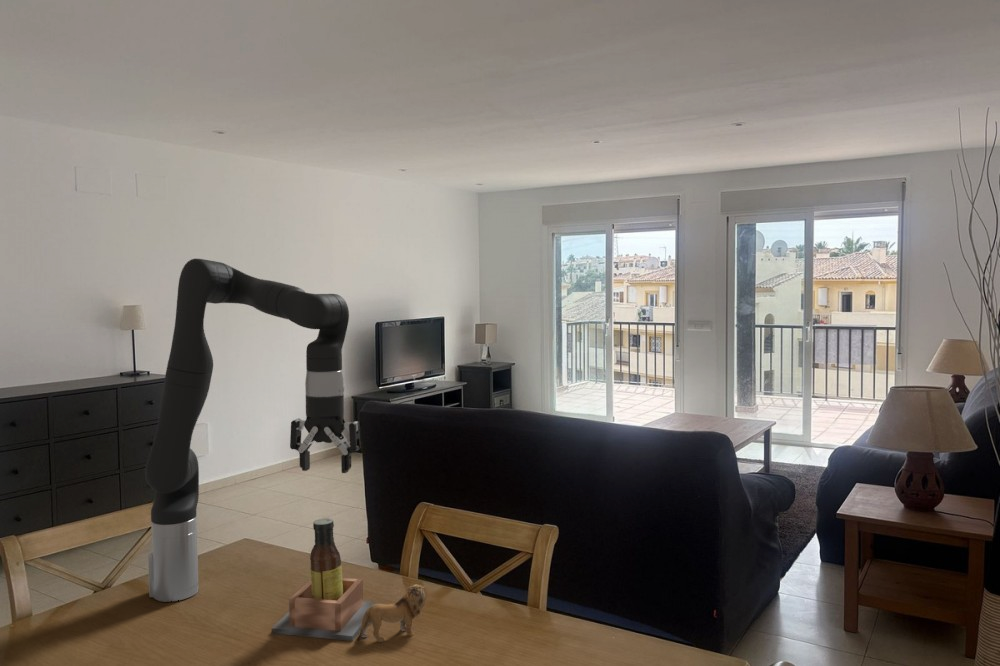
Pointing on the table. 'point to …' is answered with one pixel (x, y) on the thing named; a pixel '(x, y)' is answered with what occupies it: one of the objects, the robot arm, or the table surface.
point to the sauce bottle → (325, 563)
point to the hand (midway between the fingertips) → (325, 471)
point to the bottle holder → (325, 613)
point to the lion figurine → (395, 612)
